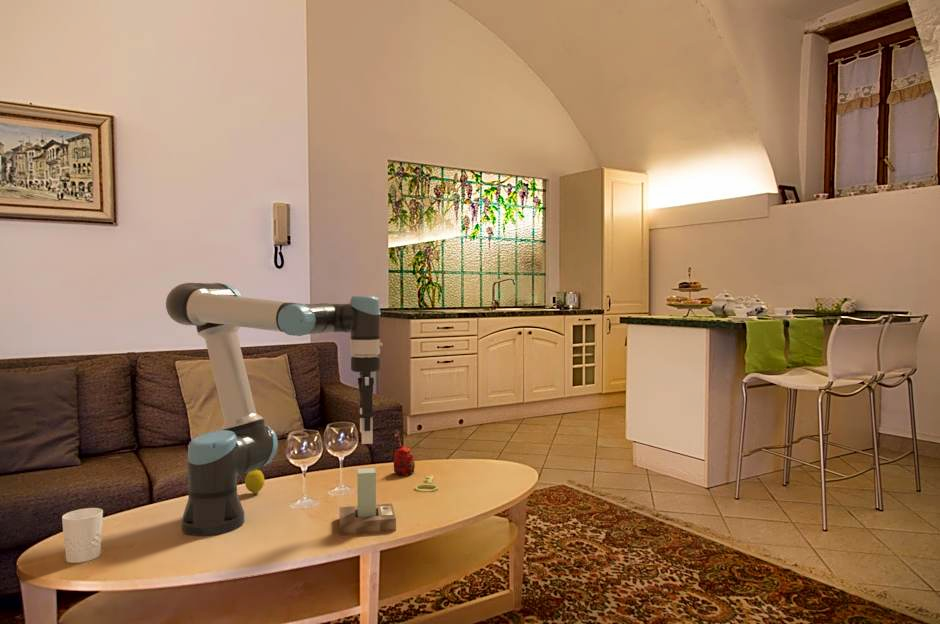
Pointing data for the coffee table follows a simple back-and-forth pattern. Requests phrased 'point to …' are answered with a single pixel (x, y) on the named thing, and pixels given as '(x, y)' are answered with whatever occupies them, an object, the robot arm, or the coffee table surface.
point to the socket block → (366, 520)
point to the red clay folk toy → (403, 460)
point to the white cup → (82, 534)
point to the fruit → (254, 481)
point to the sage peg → (366, 492)
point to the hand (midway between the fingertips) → (366, 437)
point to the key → (427, 485)
